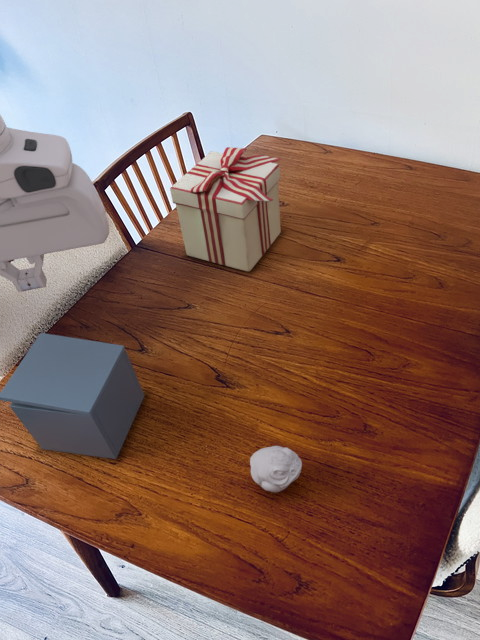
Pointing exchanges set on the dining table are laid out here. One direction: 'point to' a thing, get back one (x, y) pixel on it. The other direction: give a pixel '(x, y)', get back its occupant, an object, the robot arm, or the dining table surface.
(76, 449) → the chest
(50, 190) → the robot arm
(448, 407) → the dining table surface
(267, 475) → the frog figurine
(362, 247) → the dining table surface
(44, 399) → the chest lid
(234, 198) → the gift box
